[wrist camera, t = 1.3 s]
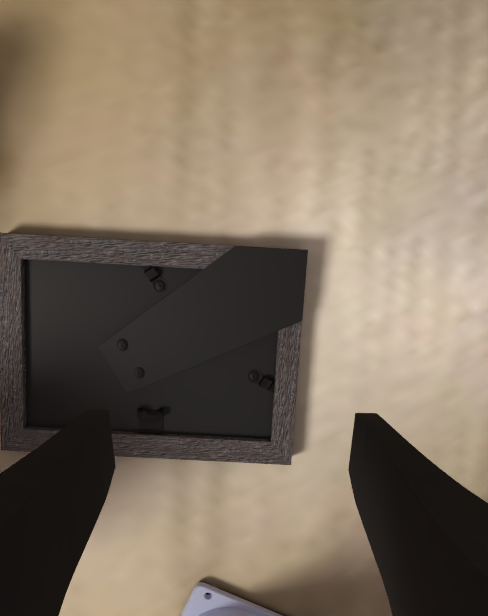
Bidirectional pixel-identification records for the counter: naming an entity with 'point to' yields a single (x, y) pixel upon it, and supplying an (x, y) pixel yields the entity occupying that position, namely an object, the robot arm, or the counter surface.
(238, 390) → the picture frame
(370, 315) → the counter surface
